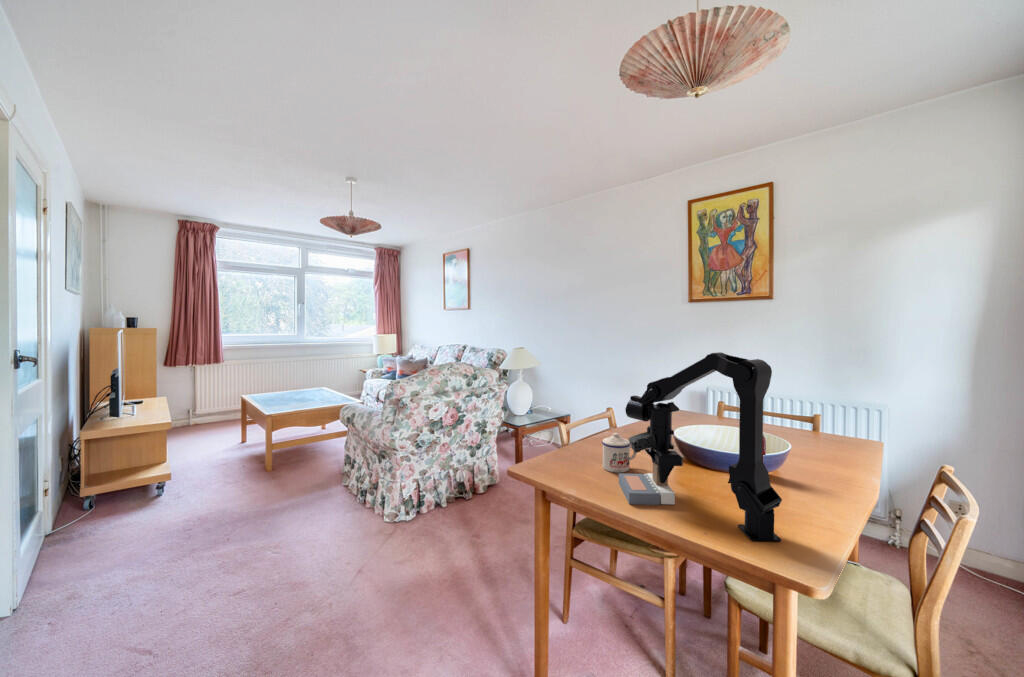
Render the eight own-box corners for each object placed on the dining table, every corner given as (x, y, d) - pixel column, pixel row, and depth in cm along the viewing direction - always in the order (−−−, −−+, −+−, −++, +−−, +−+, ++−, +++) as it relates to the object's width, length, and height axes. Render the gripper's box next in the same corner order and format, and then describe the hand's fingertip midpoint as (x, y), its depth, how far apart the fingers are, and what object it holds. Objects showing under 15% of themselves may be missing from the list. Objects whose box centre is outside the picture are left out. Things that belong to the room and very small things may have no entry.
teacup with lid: (609, 474, 129) (609, 438, 129) (597, 464, 138) (597, 430, 138) (643, 471, 132) (643, 435, 132) (629, 461, 141) (629, 428, 140)
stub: (674, 504, 108) (675, 474, 107) (660, 504, 108) (661, 474, 108) (659, 483, 122) (659, 456, 121) (646, 483, 122) (647, 456, 122)
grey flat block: (659, 504, 108) (659, 493, 108) (629, 504, 108) (629, 492, 108) (645, 483, 122) (645, 473, 122) (618, 483, 122) (618, 473, 122)
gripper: (624, 416, 124) (624, 467, 124) (639, 433, 105) (639, 493, 106) (661, 417, 123) (661, 468, 124) (683, 434, 104) (683, 494, 105)
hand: (660, 479), depth 115 cm, fingers closed on stub, 4 cm apart
